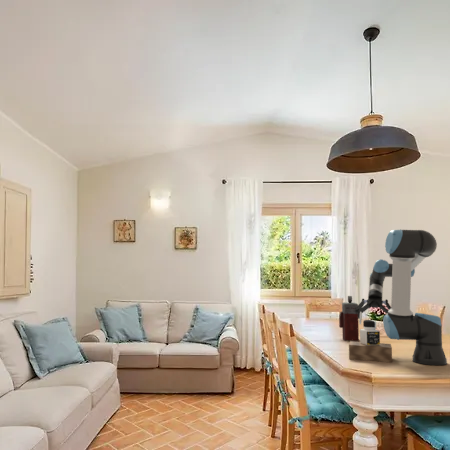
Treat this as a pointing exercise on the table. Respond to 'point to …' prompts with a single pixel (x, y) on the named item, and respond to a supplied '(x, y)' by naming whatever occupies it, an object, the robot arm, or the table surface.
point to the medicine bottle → (369, 333)
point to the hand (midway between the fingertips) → (373, 323)
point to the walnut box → (370, 352)
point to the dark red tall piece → (349, 321)
